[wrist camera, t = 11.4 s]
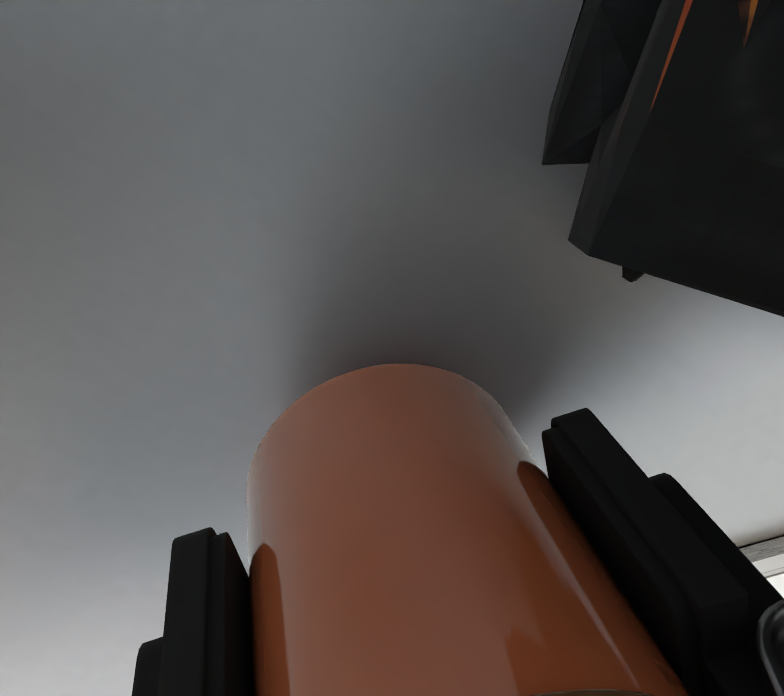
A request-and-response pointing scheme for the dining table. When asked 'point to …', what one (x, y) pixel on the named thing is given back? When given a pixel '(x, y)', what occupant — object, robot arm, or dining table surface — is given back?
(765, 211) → the tool
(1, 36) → the dining table surface
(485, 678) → the salt pot
